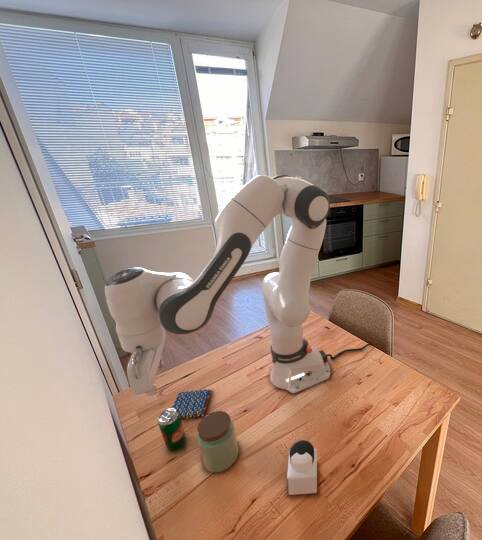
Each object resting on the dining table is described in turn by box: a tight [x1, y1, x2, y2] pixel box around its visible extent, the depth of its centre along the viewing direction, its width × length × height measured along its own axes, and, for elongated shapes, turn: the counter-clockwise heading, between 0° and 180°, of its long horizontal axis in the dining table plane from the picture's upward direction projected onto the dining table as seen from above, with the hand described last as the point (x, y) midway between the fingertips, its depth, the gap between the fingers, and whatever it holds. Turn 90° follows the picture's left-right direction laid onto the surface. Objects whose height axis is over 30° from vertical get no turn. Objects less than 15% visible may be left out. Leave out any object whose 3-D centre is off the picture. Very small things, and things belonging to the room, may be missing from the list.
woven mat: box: [172, 388, 212, 420], centre depth 96 cm, size 10×11×2 cm
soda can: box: [157, 407, 187, 452], centre depth 82 cm, size 5×5×12 cm
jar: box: [196, 410, 239, 473], centre depth 79 cm, size 9×9×13 cm
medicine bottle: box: [286, 439, 318, 496], centre depth 74 cm, size 7×7×12 cm
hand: (156, 379), depth 75 cm, fingers open, 8 cm apart
